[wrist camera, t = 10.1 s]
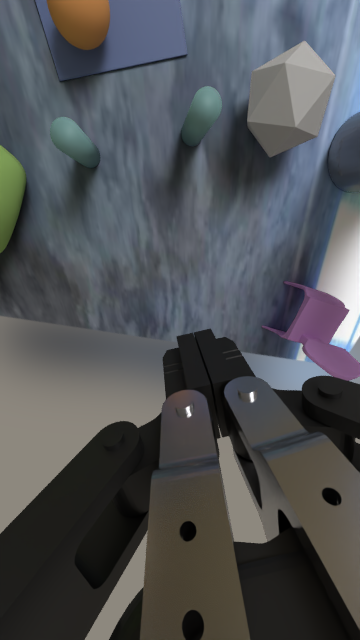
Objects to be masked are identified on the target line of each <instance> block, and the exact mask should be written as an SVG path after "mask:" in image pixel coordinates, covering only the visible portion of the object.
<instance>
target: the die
mask: <svg viewBox="0 0 360 640" xmlns="http://www.w3.org/2000/svg"><path fill="white" fill-rule="evenodd" d="M335 76H336V75H335V74H334V73H333V72H332V71H331V70H330V69H329V68H328V66H327V65H326V64H325V63H324V62H323V61H322V60H321V58H320V57H319V56H318V55H317V54H316V53H315V52H314V51H313V49H312V48H311V47H310V46H309V45H308V44H307V43H306V41H303V42H301V43H300V44H298V45H296V46H295V47H293V48H291V49H290V50H288V51H286V52H284V53H283V54H281V55H279V56H278V57H276V58H274V59H273V60H271V61H269V62H267V63H266V64H264V65H262V66H261V67H259V68H257V69H255V70H254V71H252V76H251V86H250V96H249V107H248V117H247V127H248V128H249V130H250V131H251V133H252V134H253V135H254V137H255V138H256V139H257V141H258V142H259V143H260V145H261V146H262V148H263V149H264V150H265V152H266V153H267V154H268V156H269V157H272V156H275V155H277V154H279V153H281V152H284V151H286V150H288V149H290V148H293V147H295V146H297V145H299V144H302V143H304V142H306V141H308V140H311V139H313V138H315V137H317V136H318V133H319V130H320V127H321V123H322V120H323V116H324V113H325V110H326V106H327V103H328V99H329V96H330V93H331V89H332V86H333V83H334V79H335Z"/></svg>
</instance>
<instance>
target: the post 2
mask: <svg viewBox="0 0 360 640" xmlns="http://www.w3.org/2000/svg"><path fill="white" fill-rule="evenodd" d="M221 109H222V100H221V97H220V95H219V93H218V91H217V90H216V89H214V88H213V87H209V86H206V87H203V88H201V89H199V90H198V91H197V93H196V94H195V96H194V99H193V101H192V104H191V106H190V109H189V112H188V114H187V117H186V119H185V122H184V124H183V127H182V130H181V136H182V139H183V141H184V142H185V144H187V145H188V146H196V145H197V144H199V143H200V141H201V140H202V139H203V137H204V136H205V134H206V133H207V132H208V130H209V129H210V128H211V126H212V125H213V124H214V122H215V121H216V120H217V118H218V117H219V115H220V113H221Z"/></svg>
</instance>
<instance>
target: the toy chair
mask: <svg viewBox="0 0 360 640" xmlns="http://www.w3.org/2000/svg"><path fill="white" fill-rule="evenodd" d="M283 283H285V284H288V285H291V286H294V287H297V288H300V289H303V290H304V292H305V297H304V300H303V302H302V304H301V307H300V309H299V311H298V313H297V315H296V317H295V319H294V321H293V322H292V324H291V325H290V327H289V329H288V330H287V332H284V331H280V330H277V329H273V328H270V327H266V326H262V328H265V329H267V330H270V331H272V332H275V333H276V334H278V335H279V336H280V337H282V338H285V339H288V340H291V341H295V342H299V343H302V344H303V347H302V350H303V352H304V353H305V354H306V355H307V356H308V357H309V358H310V359H311V360H312V361H313V362H315V363H316V364H317V365H318V366H320V367H321V368H322V369H323V370H325V371H326V372H327V373H329V374H330V375H332V376H333V377H336V378H340V379H343V380H347V381H349V380H352V379H355V378H357V377H359V376H360V363H359V362H358V361H357V360H356V359H354V358H353V357H352V356H351V355H350V354H349V353H348V352H347V351H346V350H345V349H343V348H340V347H337V346H333V345H330V344H329V343H330V341H331V339H332V337H333V335H334V334H335V332H336V330H337V329H338V327H339V326H340V324H341V323H342V321H343V320H344V318H345V317H346V315H347V314H348V312H349V310H348V309H346V308H345V305H344V304H343V303H342V302H341V301H340V300H338V299H337V298H335V297H333V296H331V295H329V294H327V293H324V292H321V291H318V290H315V289H312V288H309V287H306V286H303V285H300V284H297V283H292V282H287V281H284V282H283Z"/></svg>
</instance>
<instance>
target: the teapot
mask: <svg viewBox="0 0 360 640" xmlns="http://www.w3.org/2000/svg"><path fill="white" fill-rule="evenodd" d="M25 186H26V173H25V170H24V168H23V167H22V165H21V163H20V162H19V161H18V160H17V159H16V158H15V157H14V156H13V155H12V154H11V153H9V152H8V151H7V150H6V149H5V148H3V147H2V146H1V145H0V253H1V252H3V250H4V249H5V248H6V246H7V244H8V242H9V240H10V238H11V235H12V233H13V230H14V227H15V225H16V222H17V219H18V216H19V212H20V208H21V204H22V200H23V196H24V192H25Z"/></svg>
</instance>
